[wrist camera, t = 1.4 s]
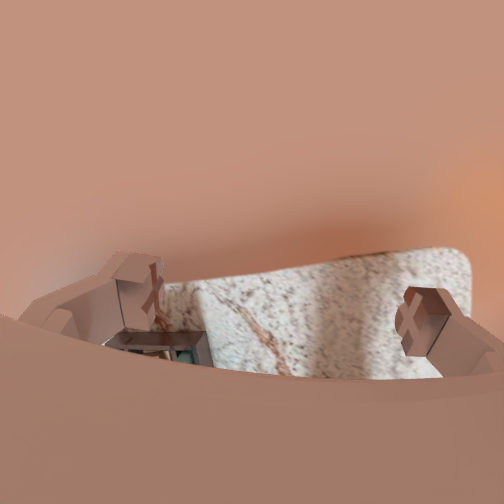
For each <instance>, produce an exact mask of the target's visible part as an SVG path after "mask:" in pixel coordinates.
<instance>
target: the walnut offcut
mask: <svg viewBox="0 0 504 504" xmlns="http://www.w3.org/2000/svg"><path fill="white" fill-rule="evenodd" d="M142 355H145V356H150V357H155V358H160V359H165V360H167V358H166V356H165V354H164V351H156V352H148V353H143V354H142Z"/></svg>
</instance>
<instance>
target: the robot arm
mask: <svg viewBox="0 0 504 504" xmlns="http://www.w3.org/2000/svg"><path fill="white" fill-rule="evenodd" d="M162 270H163V260H162V258H161V257H158V256H151V255H145V254H138V253H132V252H126V251H117V252H116V253H115V254H114V255H113V256H112V258H111V259H110V260H109V261H108V262H107V264H106V265H105V266H104V267H103V269H102V270H101V271H100V272H99V274H98V275H97V276H94V275H92V276H90V277H87V278H85V279H83V280H80V281H78V282H75V283H73V284H71V285H68V286H66V287H64V288H61V289H59V290H57V291H54V292H52V293H50V294H47V295H45V296H43V297H40V298H38V299H36V300H34V301H33V302H32V303H31V305H30V306H29V307H28V308H27V309H26V310H25V312H24V313H23V314H22V315H21V316H20V318H19V319H18V320H15V319H13V318H10V317H7V316H4V315H2V314H0V504H504V343H503V342H502V341H501V340H499V339H498V338H496V337H495V336H494V335H492V334H491V333H490V332H488V331H487V330H485V329H484V328H483V327H481V326H480V325H478V324H477V323H476V322H474V321H473V320H471V319H470V318H469V317H466V316H464V315H463V314H462V312H461V310H460V309H459V307H458V306H457V304H456V303H455V301H454V300H453V298H452V297H451V295H450V294H449V292H448V291H447V290H446V289H441V288H422V287H408V288H407V290H406V291H405V293H404V296H403V298H404V301H405V302H404V303H403V304H402V305H400V306H399V307H398V310H397V313H396V316H395V328H396V331H397V333H398V334H399V335H400V336H401V337H402V338H403V339H402V341H401V344H402V347H403V350H404V352H405V355H406V356H415V357H426V358H427V359H428V360H429V361H430V363H431V364H432V365H433V366H434V367H435V368H436V369H437V370H438V371H439V372H440V373H441V374H442V376H443V378H425V379H394V380H359V379H327V378H309V377H294V376H282V375H271V374H261V373H252V372H244V371H235V370H228V369H220V368H213V367H207V366H200V365H194V364H188V363H182V362H176V361H171V360H165V359H160V358H155V357H150V356H145V355H141V354H136V353H131V352H127V351H123V350H118V349H114V348H110V347H106V346H102V345H101V344H103V343H104V342H106V341H107V340H108V339H110V338H111V337H113V336H114V335H115V334H117V333H118V332H120V331H121V330H122V329H124V327H128V328H134V329H140V330H146V331H149V330H150V328H151V326H152V324H153V321H154V319H155V311H156V310H157V309H159V308H160V306H161V304H162V301H163V296H164V280H163V279H162V277H161V276H160V274H161V272H162Z"/></svg>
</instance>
